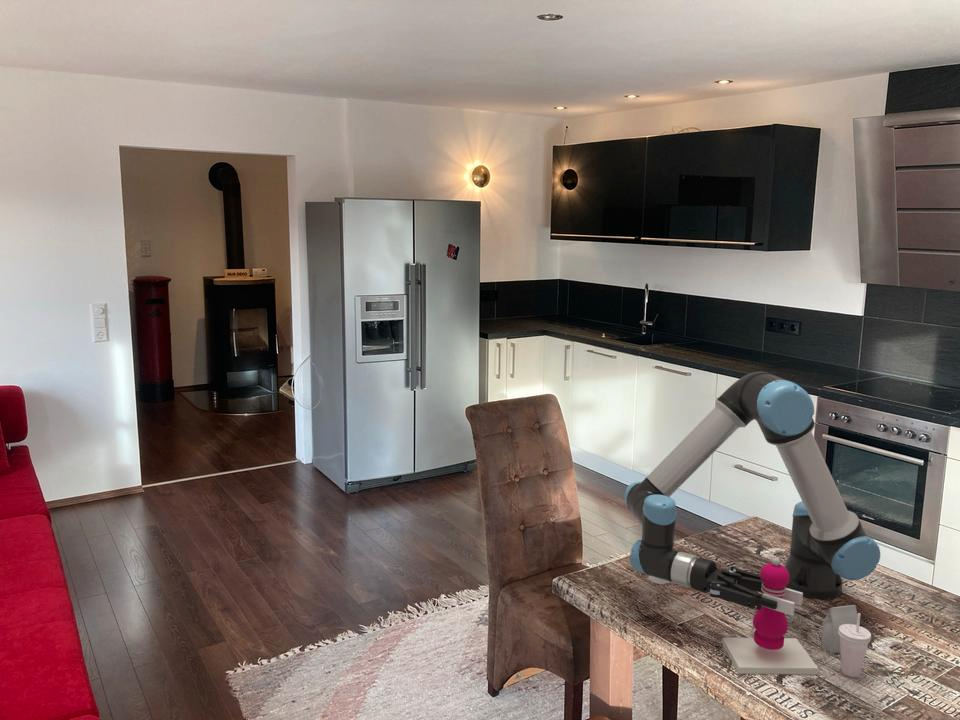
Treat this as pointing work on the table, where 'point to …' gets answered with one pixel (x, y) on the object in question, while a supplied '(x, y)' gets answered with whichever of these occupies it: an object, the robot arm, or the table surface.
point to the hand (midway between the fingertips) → (797, 604)
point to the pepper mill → (768, 620)
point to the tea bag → (836, 626)
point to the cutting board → (769, 657)
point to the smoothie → (853, 647)
